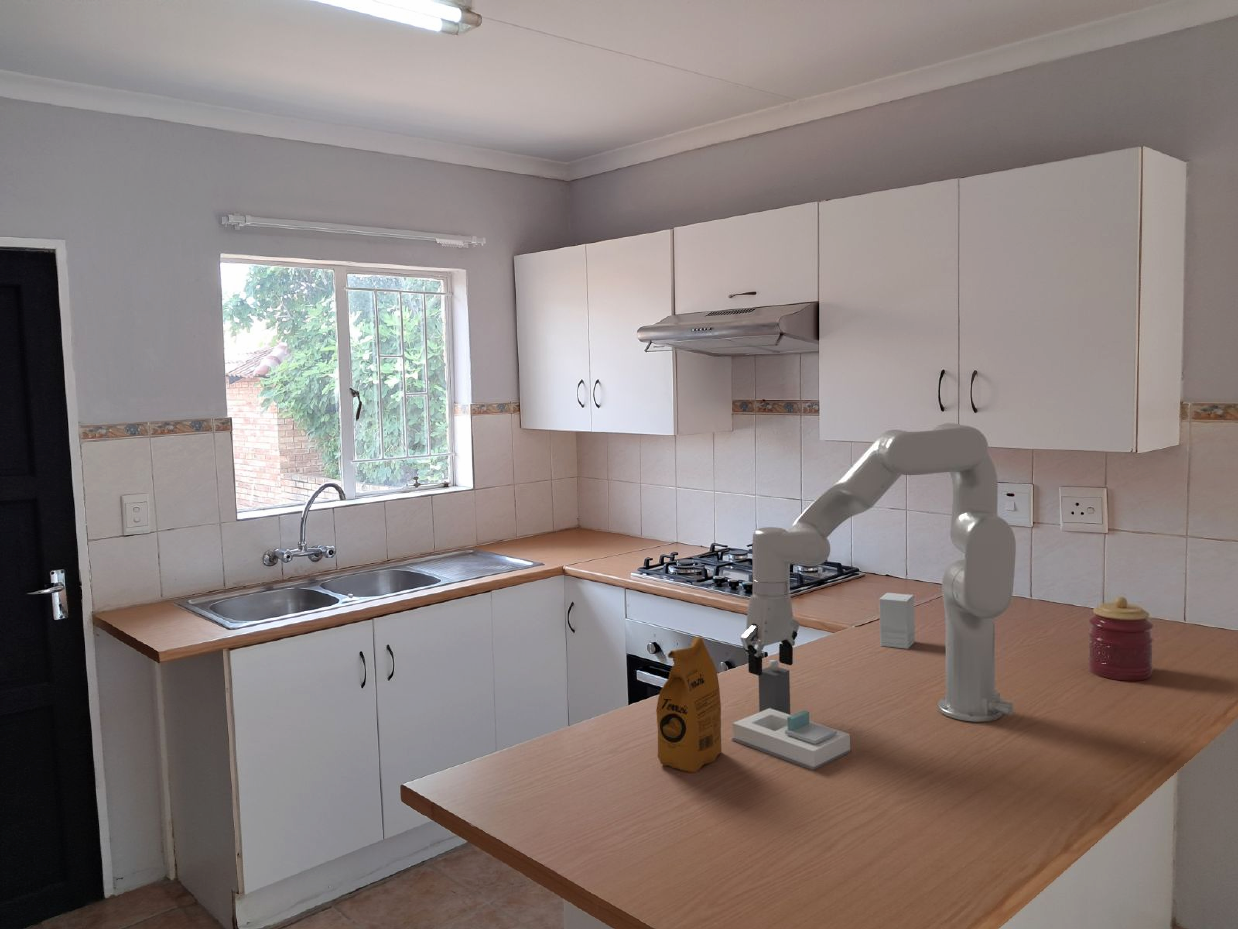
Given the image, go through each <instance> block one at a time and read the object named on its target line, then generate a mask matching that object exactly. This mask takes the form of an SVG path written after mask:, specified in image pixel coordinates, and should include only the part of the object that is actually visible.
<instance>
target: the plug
mask: <svg viewBox="0 0 1238 929" xmlns="http://www.w3.org/2000/svg"><path fill="white" fill-rule="evenodd" d="M768 664H769V666H767V667H766V668H762V675H760V676H758V703H759V704H758V706H759V709H758V711H759V712H761V711H764V710H766V709H769V708H770V709H774V710H777V711H780V712H783V713H786V714H789V715H791V692H790V690H791V687H790V686H791V684H790V683H791V682H790V681H791V680H790V678H791V676H790V670H789V669H785V668H781V667H779V660H777V659H770V660H769V662H768ZM759 712H758V713H759Z"/></svg>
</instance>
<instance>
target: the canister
mask: <svg viewBox="0 0 1238 929" xmlns="http://www.w3.org/2000/svg"><path fill="white" fill-rule="evenodd" d="M1092 612H1093V614H1094V615H1091V617H1089V618H1088V622H1089V623H1090V625H1091V626H1090V628H1091V629H1090V631H1089V632H1088V637H1089V640H1088V641H1089V643H1088V644H1089V646H1088V650H1089V652H1088V653H1089V654H1088V655H1089V656H1088V662H1087V664H1088V667H1089V671H1090V672H1092V673H1093V674H1094V675H1097V676H1100V677H1103V678H1107V679H1110V680H1116V681H1117V680H1118V681H1126V682H1127V681H1129V682H1131V681H1144V680H1147V679H1149V678H1151V677H1152V673H1153V671H1154V670H1153V667H1154V665H1153V642H1154V638H1153V636H1152V633H1151V630H1152V629H1153V628H1154V627H1155V626H1154V623H1153V622H1152V621H1151V620H1149V619H1148V618H1149V617H1150V613H1149V611H1147V610H1145V609H1143V608H1142V607H1141V606H1139V605H1136V604H1132V603H1128V600H1127V598H1125V597H1123V596H1117V597H1116V598H1115V599H1114V601H1113V602H1104V603H1102V604H1100V605H1098V606H1097V607H1094V608H1093V609H1092Z"/></svg>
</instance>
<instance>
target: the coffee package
mask: <svg viewBox="0 0 1238 929" xmlns="http://www.w3.org/2000/svg"><path fill="white" fill-rule="evenodd" d="M667 657H668V659H672V661H673V665H672V666H671V668H670V671H669V675H668V679H667V680H666V681H665V683H664V685H663V686H662V688H661V690H660V692H659V695H658V699H657V703H656V704H657V705H656V709H655V710H656V723H657V759H658V761H659V762H660V764H661V765H663V766H665V767H666V766H668V767H671V768H673V769H677V770H680V771H682V772H688V773H696V772H698V771H699V770H700V769H701V768H702V766H704V765H705V764H711V763H713V762H715V761H716V759H717V757H718V755H720V754H721V752H722V732H721V731H722V704H721V694H720V693H721V692H720V682H719V677H718V672H717V668H716V666H715V664H714V661H713V659H712V657H711V655H710V652H709V651H708V649H707V646H706V645H705V643H704V641H703V638H702V637H701V636H697V637H695V638H693V640H692V642H691V645H690V647H686V648H681V649H675V650H670V652H668V654H667Z"/></svg>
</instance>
